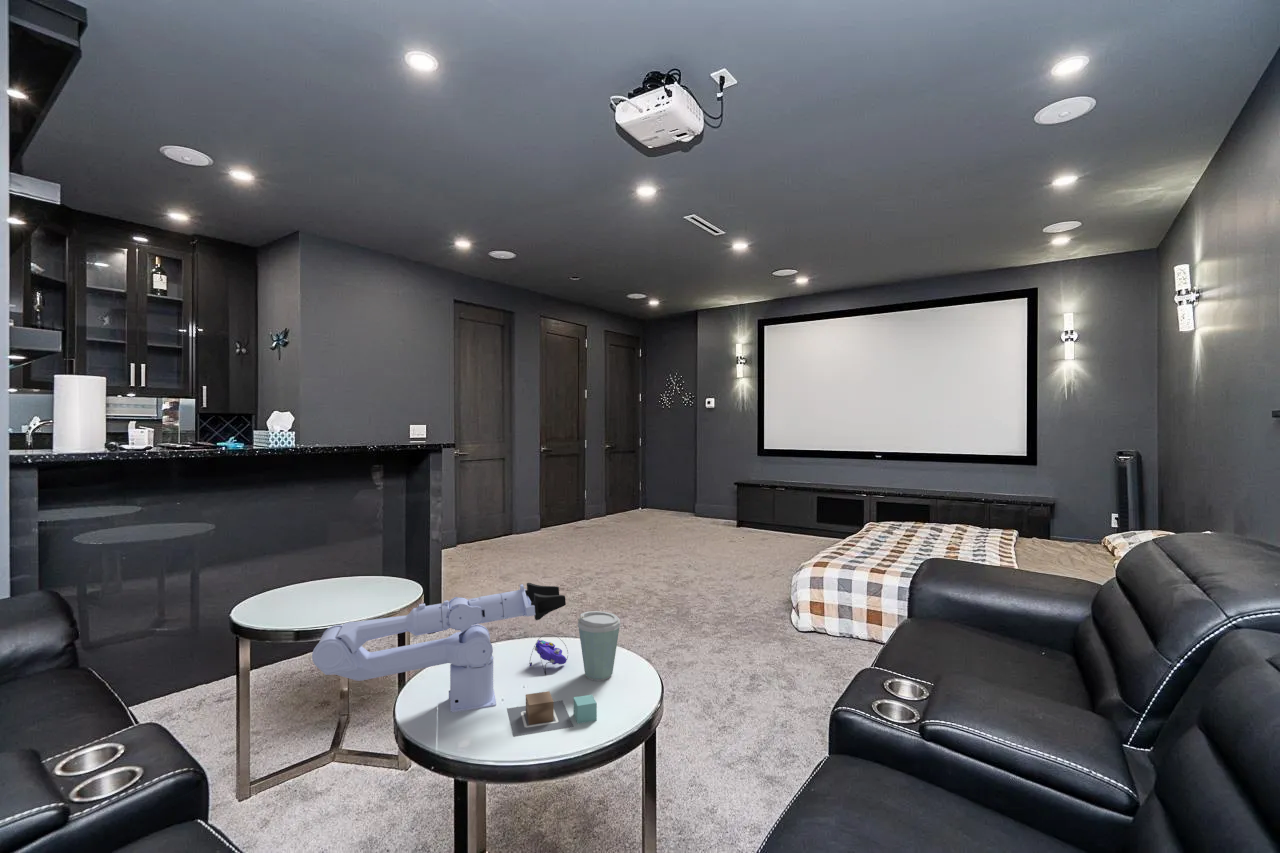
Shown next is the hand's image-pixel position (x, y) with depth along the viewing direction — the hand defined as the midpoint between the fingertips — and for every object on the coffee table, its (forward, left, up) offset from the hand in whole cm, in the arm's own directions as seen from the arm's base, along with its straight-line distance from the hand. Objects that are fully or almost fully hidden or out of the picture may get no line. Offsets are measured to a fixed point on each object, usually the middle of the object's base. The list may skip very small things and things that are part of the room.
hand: (561, 595), depth 136 cm
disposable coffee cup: (+10, +4, -22) cm, 24 cm away
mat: (-7, -12, -22) cm, 26 cm away
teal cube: (+2, -15, -22) cm, 27 cm away
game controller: (-1, +14, -22) cm, 26 cm away
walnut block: (-7, -12, -21) cm, 26 cm away
